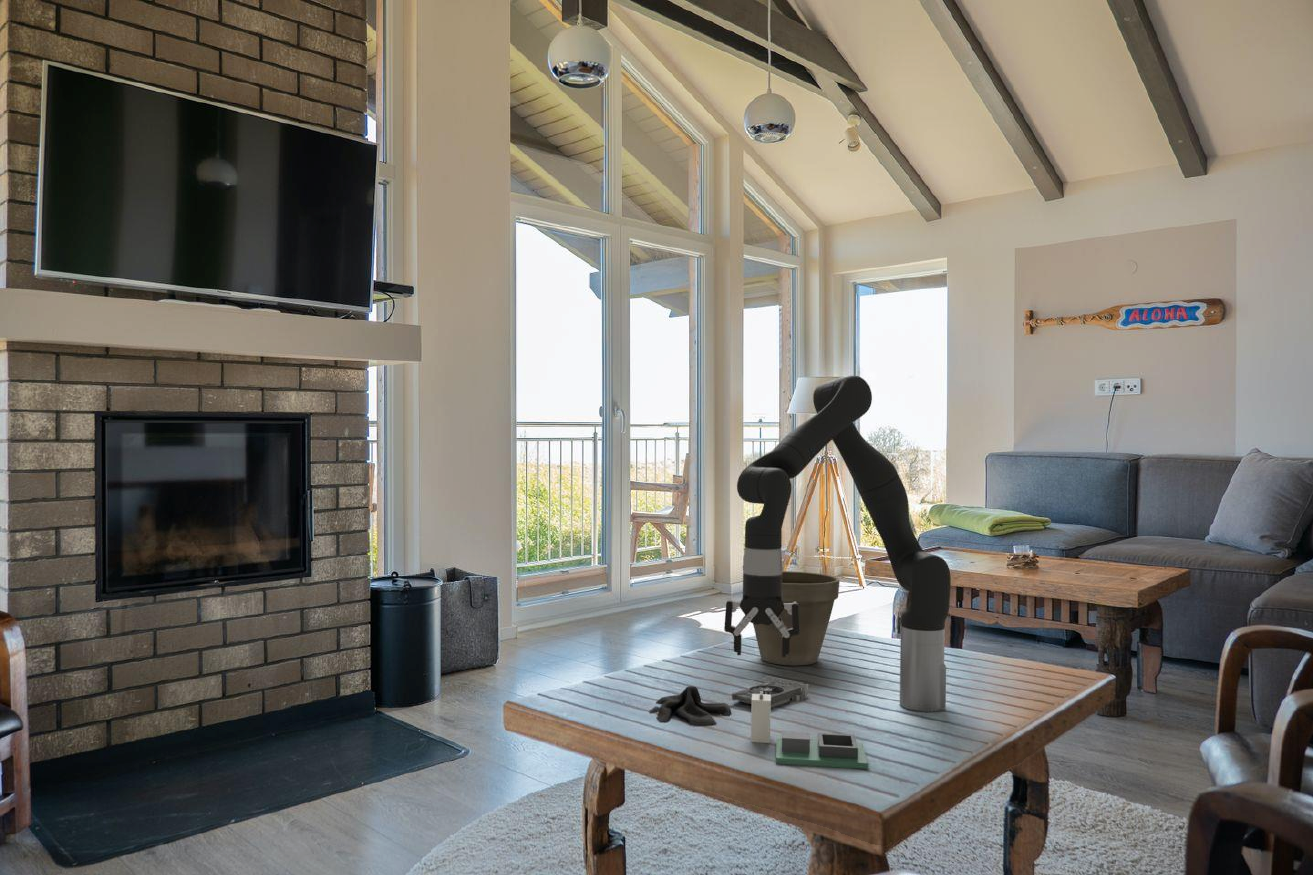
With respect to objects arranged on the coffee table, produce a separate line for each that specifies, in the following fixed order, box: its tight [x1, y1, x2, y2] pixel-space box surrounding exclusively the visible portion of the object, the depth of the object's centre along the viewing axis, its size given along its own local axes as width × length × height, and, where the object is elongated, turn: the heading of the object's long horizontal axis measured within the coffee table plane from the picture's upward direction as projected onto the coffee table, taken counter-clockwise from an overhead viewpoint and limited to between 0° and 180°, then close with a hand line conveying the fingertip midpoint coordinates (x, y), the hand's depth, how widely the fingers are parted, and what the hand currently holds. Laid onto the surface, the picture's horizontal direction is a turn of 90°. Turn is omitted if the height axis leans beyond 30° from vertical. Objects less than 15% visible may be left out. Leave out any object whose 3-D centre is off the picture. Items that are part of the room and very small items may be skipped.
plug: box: [750, 691, 772, 744], centre depth 183 cm, size 4×4×9 cm
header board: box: [775, 730, 869, 770], centre depth 174 cm, size 16×11×4 cm
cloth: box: [648, 685, 732, 726], centre depth 199 cm, size 22×19×6 cm
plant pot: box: [752, 570, 840, 667], centre depth 247 cm, size 25×25×22 cm
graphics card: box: [731, 675, 809, 708], centre depth 210 cm, size 17×4×12 cm
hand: (761, 655), depth 183 cm, fingers open, 8 cm apart
